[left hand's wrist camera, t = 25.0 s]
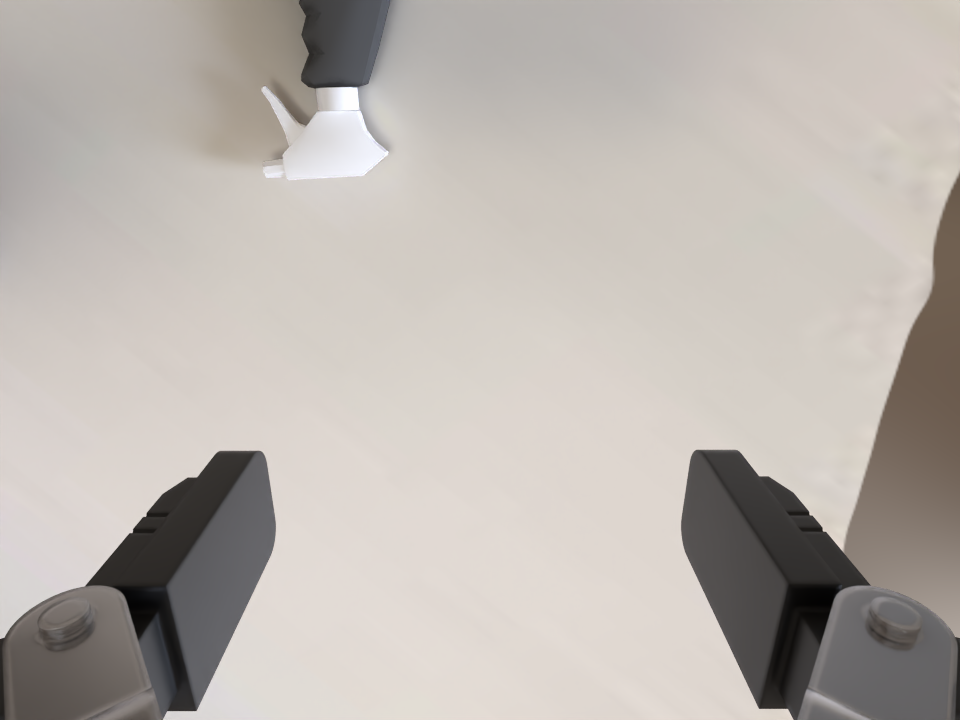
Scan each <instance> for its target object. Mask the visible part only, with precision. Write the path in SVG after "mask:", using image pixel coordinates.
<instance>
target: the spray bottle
mask: <svg viewBox="0 0 960 720" xmlns="http://www.w3.org/2000/svg"><path fill="white" fill-rule="evenodd" d="M389 3H390V0H300V1H299V4H300V6H301V8H302V10H303V11H304V13H305V15H306V19H305V23H304V27H303V31H302V37H303V40H304V42H305V45H306V47H307V49H308V52H309V56H308V58H307V61H306V63H305V66H304V69H303V71H302V74H301V81H302V82H303V83H305V84H306V85H307V86H308V87H311V88H315V89H316V96H317V104H318V111H322V112H316V114H315V115H314V117H313V118H312V119H311V121H310V122H309V123H308V125H307V126H306V125H303V124H301V123H299V122H297V120H296V119H295V118H294V117H293V116H292V114H291V113H290V112H289V111H288V109H287V108H286V107H285V106H284V105H283V103H282V102H281V101H280V100H279V99H278V98H277V97H276V96H275V95H274V94H273V93H272V91H271V90H270V89H269V88H268V87H267V86H264V87H263V88H262V89H261V90H262V92H263V93H264V95H265V96H266V98H267V99H268V100H269V102H270V104H271V106H272V108H273V109H274V111H275V113H276V115H277V117H278V119H279V121H280V123H281V125H282V127H283V129H284V132H285V135H286V139H287V142H288V145H289V146H290V147H289V148H288V149H287V150H286V151H285V152H284V154H283V159H277V160H271V161H264V162H263V171H264V174H265V176H266V178H276V177H287V180H298V179H315V178H332V177H349V176H362V175H365V174H366V173H367V172H368V171H369V170H370V169H372V168H373V167H374V166H375V165H376V164H377V163H378V162H380V161H381V160H382V159H383V158H384V157H385V156H386V155H388V151H387V150H386V149H385V148H383V147H382V146H381V145H380V144H378V143H377V142H376V141H375V140H374V139H373V137H372V136H371V135H370V133H369V132H368V130H367V128H366V125H365V122H364V119H363V116H362V113H361V111H346V110H359V102H358V90H357V87H360V86H363V85H366V84H368V83H369V79H370V76H371V72H372V69H373V66H374V62H375V59H376V55H377V52H378V48H379V45H380V41H381V37H382V33H383V28H384V24H385V20H386V16H387V12H388V8H389Z"/></svg>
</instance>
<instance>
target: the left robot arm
mask: <svg viewBox="0 0 960 720" xmlns="http://www.w3.org/2000/svg"><path fill="white" fill-rule="evenodd" d="M681 532H682V541H683V546H684V549H685V552H686V555H687V557H688V559H689V561H690V563H691V565H692V568H693V570H694V572H695V574H696V576H697V578H698V580H699V582H700V585H701V587H702V589H703V591H704V593H705V595H706V597H707V599H708V601H709V604H710V606H711V608H712V610H713V612H714V614H715V616H716V618H717V621H718V623H719V625H720V627H721V629H722V631H723V633H724V635H725V638H726V640H727V642H728V644H729V646H730V648H731V650H732V652H733V654H734V657H735V659H736V661H737V663H738V665H739V667H740V669H741V671H742V674H743V676H744V678H745V680H746V682H747V684H748V686H749V688H750V691H751V693H752V695H753V697H754V699H755V701H756V703H757V705H758V708H759V709H788V710H789V712H790V714H791V715H792V717H793V719H794V720H960V638H957V637H955V636H954V634H953V633H952V631H951V629H950V628H949V627H948V626H947V624H946V623H945V622H944V621H943V620H942V619H941V618H940V617H939V616H937V615H936V614H935V613H934V612H932V611H931V610H930V609H928V608H927V607H925V606H924V605H922V604H921V603H919V602H917V601H915V600H913V599H911V598H909V597H907V596H905V595H902V594H900V593H897V592H894V591H891V590H888V589H884V588H880V587H874V586H871V585H870V584H869V583H868V582H867V580H866V579H865V578H864V577H863V576H862V574H861V573H860V572H859V571H858V570H857V568H856V567H855V566H854V565H853V564H852V563H851V561H850V560H849V559H848V558H847V556H846V555H845V554H844V553H843V552H842V550H841V549H840V548H839V547H838V546H837V544H836V543H835V542H834V541H833V540H832V538H831V537H830V536H829V535H828V534H827V532H823V530H822V527H821V525H820V524H819V523H818V522H817V521H816V519H815V518H814V517H813V516H810V515H809V511H808V510H807V509H806V507H805V506H804V505H803V504H802V503H801V501H800V500H799V499H798V498H797V497H796V495H795V494H794V493H793V492H791V491H790V490H788V489H787V488H785V487H784V486H782V485H781V484H779V483H778V482H776V481H775V480H773V479H771V478H770V477H759V476H758V475H757V473H756V472H755V471H754V469H753V468H752V467H751V466H750V464H749V463H748V462H747V460H746V459H745V458H744V456H743V455H742V454H741V453H740V452H739V451H738V450H695V451H694V452H693V454H692V456H691V460H690V466H689V472H688V479H687V486H686V493H685V499H684V506H683V513H682V521H681ZM275 533H276V522H275V515H274V508H273V501H272V495H271V488H270V481H269V475H268V468H267V462H266V458H265V456H264V454H263V452H261V451H219V452H217V453H216V454H215V456H214V457H213V458H212V459H211V461H210V462H209V463H208V464H207V466H206V467H205V468H204V470H203V471H202V472H201V473H200V475H199V476H198V477H197V478H187V479H185V480H184V481H182V482H180V483H179V484H177V485H176V486H174V487H173V488H171V489H170V490H168V491H167V492H165V493H164V494H162V495H161V497H160V498H159V499H158V500H157V501H156V503H155V504H154V505H153V506H152V507H151V509H150V510H149V511H148V512H147V516H146V517H143V518H142V519H141V520H140V522H139V523H138V524H137V525H136V526H135V528H134V529H133V533H130V534H129V535H128V536H127V537H126V538H125V539H124V541H123V542H122V543H121V544H120V545H119V547H118V548H117V549H116V550H115V551H114V553H113V554H112V555H111V556H110V557H109V558H108V560H107V561H106V562H105V563H104V564H103V566H102V567H101V568H100V569H99V570H98V572H97V573H96V574H95V575H94V576H93V577H92V579H91V580H90V581H89V582H88V583H87V585H86V586H85V587H80V588H76V589H72V590H69V591H66V592H62V593H60V594H58V595H55V596H53V597H51V598H49V599H47V600H45V601H43V602H41V603H39V604H38V605H36V606H35V607H33V608H32V609H30V610H29V611H28V612H26V613H25V614H24V615H23V616H21V617H20V618H19V619H18V620H17V621H16V622H15V623H14V624H13V626H12V627H11V628H10V629H9V631H8V633H7V634H6V636H5V638H2V639H0V720H163V718H164V716H165V714H166V712H167V711H197V709H198V707H199V705H200V702H201V700H202V698H203V696H204V694H205V692H206V690H207V688H208V686H209V684H210V681H211V679H212V677H213V675H214V673H215V671H216V669H217V667H218V665H219V663H220V661H221V658H222V656H223V654H224V652H225V650H226V648H227V646H228V644H229V642H230V640H231V638H232V635H233V633H234V631H235V629H236V627H237V625H238V623H239V621H240V619H241V617H242V614H243V612H244V610H245V608H246V606H247V604H248V602H249V600H250V598H251V596H252V594H253V591H254V589H255V587H256V585H257V583H258V581H259V579H260V577H261V575H262V573H263V570H264V568H265V566H266V564H267V562H268V560H269V558H270V556H271V553H272V550H273V546H274V541H275Z"/></svg>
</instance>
